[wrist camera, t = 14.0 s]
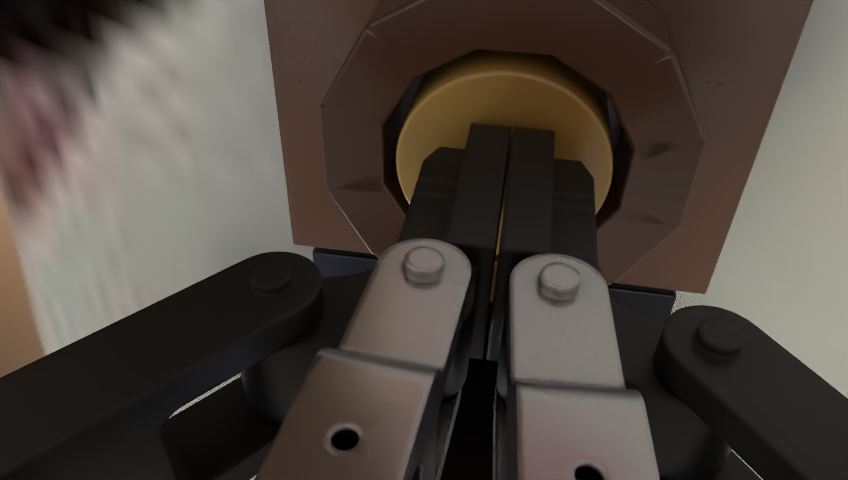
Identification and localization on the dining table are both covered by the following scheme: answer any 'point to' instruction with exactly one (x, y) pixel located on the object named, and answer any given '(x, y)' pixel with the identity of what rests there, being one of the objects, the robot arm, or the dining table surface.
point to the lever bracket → (483, 368)
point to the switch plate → (584, 53)
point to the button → (507, 112)
